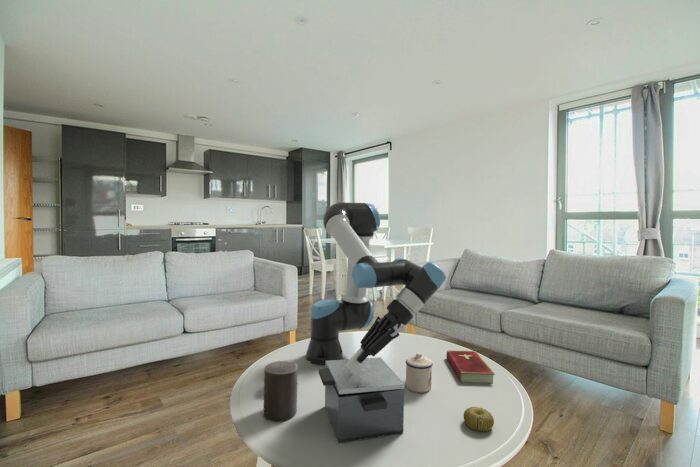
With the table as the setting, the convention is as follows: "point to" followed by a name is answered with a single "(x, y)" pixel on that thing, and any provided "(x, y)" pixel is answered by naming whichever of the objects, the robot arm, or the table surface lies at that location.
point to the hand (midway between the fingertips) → (349, 368)
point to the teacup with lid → (418, 373)
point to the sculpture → (478, 419)
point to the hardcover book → (469, 366)
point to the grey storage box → (364, 413)
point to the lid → (360, 376)
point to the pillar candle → (280, 391)
